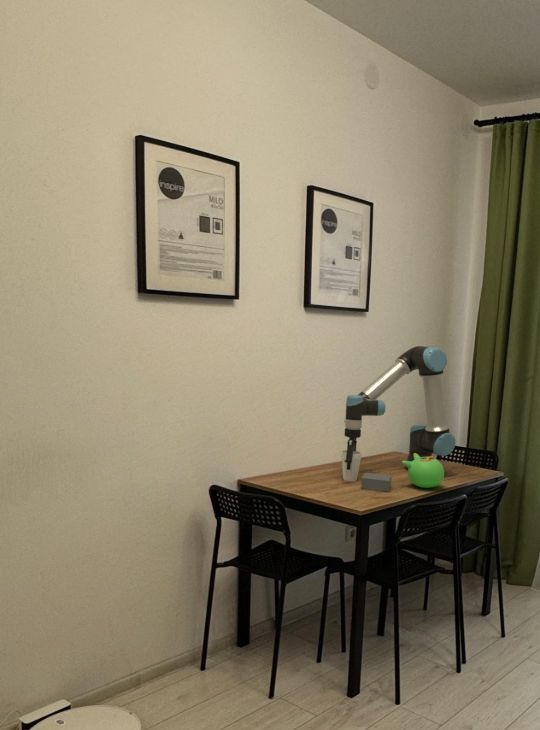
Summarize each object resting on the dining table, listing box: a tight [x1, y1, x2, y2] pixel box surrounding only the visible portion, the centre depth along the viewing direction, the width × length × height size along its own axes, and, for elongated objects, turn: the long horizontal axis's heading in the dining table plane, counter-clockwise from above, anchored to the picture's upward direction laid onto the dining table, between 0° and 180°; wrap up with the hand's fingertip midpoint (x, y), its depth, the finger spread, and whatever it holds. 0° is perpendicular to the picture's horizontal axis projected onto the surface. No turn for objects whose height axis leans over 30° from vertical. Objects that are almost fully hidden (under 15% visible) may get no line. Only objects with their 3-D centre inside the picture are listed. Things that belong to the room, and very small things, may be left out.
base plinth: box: [360, 472, 392, 493], centre depth 279 cm, size 12×12×5 cm
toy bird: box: [401, 453, 445, 489], centre depth 284 cm, size 18×17×15 cm
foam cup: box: [340, 449, 362, 482], centre depth 291 cm, size 10×9×13 cm
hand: (350, 473), depth 292 cm, fingers open, 13 cm apart
